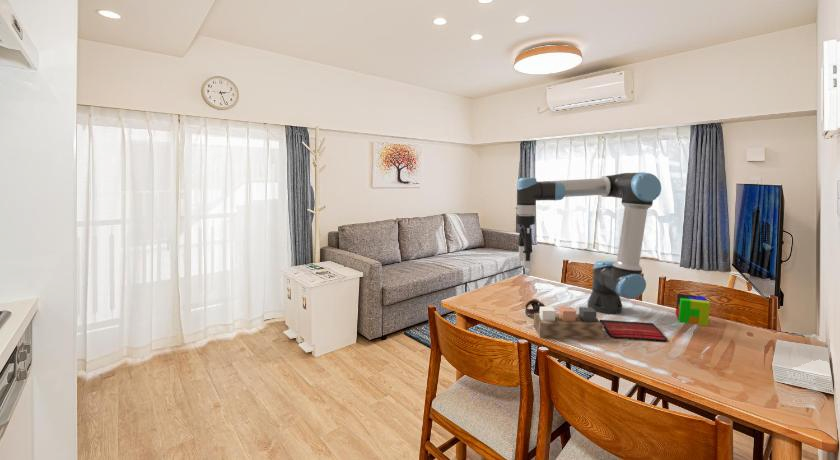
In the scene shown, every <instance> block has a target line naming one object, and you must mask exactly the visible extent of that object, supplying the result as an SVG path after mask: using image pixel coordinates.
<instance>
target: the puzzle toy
mask: <svg viewBox="0 0 840 460" xmlns="http://www.w3.org/2000/svg"><path fill="white" fill-rule="evenodd" d="M675 307H676V309H675V316H676V318H677V321H679V323H682V324H683V323H684V324H692V325H697V324H698V326H706V327H708V326H709V319H710V318H709V317H710V309H711V308H710V307H711V303H710V301H709V300H708V299H707V298H706V296H702V295H695V294H694V295H693V294H683V293H677V298H676V305H675Z"/></svg>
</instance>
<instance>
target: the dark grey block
mask: <svg viewBox="0 0 840 460" xmlns="http://www.w3.org/2000/svg"><path fill="white" fill-rule="evenodd" d="M578 309H579V310H578V314H579V319H580V320H581V321H582V322H596V318H597V315H598V314H597V313H598V312H597V311H595V310H594V309H593V308H592V307H588V306H586V307H585V306H584V307H583V306H582V307H581V306H579V308H578Z"/></svg>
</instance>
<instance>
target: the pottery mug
mask: <svg viewBox="0 0 840 460" xmlns="http://www.w3.org/2000/svg"><path fill="white" fill-rule="evenodd" d="M530 305H531V307H532V308H528V307H529V306H530ZM540 307H546V305H545V304H544V303H543V302H541V301H540V300H538V299H536V298H533V299H531V300H529V301H528V302H526V304H525V309H524V311H525V315H526V316H528V315H532V316H533V315H534V313H540Z"/></svg>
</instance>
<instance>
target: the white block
mask: <svg viewBox="0 0 840 460" xmlns="http://www.w3.org/2000/svg"><path fill="white" fill-rule="evenodd" d="M555 314H556V309H554V307H553V306H545V307H540V310H539V318H540V319H541V321H555Z"/></svg>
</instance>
